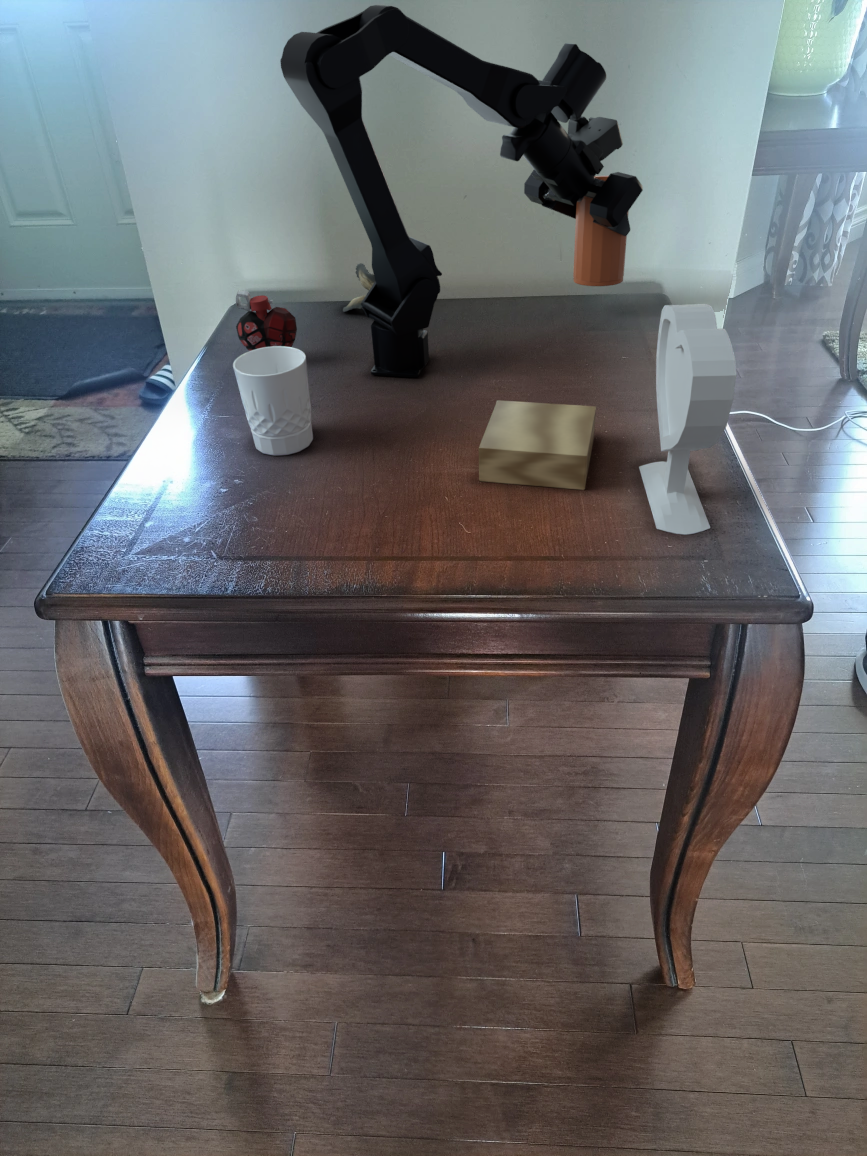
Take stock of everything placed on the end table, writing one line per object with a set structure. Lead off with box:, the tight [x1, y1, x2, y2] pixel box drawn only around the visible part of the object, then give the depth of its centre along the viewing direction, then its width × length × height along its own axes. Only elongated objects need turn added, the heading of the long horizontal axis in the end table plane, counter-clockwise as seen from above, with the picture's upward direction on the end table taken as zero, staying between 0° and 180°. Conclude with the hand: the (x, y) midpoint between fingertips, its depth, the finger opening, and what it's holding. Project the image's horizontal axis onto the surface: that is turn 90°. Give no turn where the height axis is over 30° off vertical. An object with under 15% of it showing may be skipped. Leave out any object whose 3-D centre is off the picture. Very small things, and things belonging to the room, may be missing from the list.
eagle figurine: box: [342, 262, 375, 312], centre depth 127 cm, size 8×7×9 cm
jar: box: [572, 175, 630, 287], centre depth 117 cm, size 7×7×14 cm
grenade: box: [235, 289, 298, 352], centre depth 111 cm, size 5×8×10 cm, turn 99°
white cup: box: [232, 346, 314, 456], centre depth 93 cm, size 8×8×10 cm
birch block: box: [478, 399, 597, 491], centre depth 89 cm, size 11×11×4 cm
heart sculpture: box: [638, 303, 737, 536], centre depth 78 cm, size 16×5×18 cm, turn 177°
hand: (609, 227), depth 118 cm, fingers closed on jar, 7 cm apart
